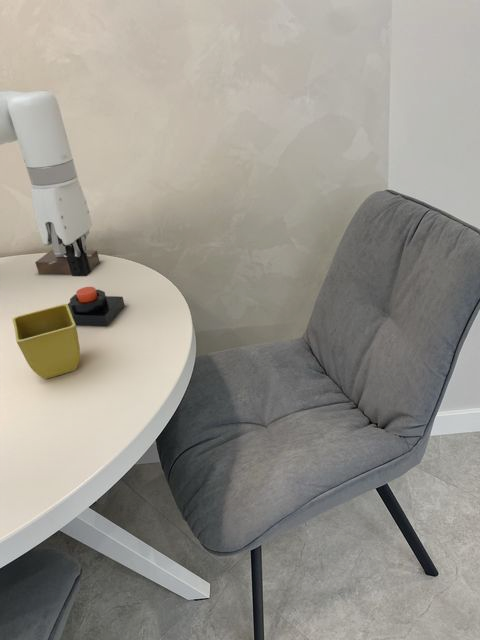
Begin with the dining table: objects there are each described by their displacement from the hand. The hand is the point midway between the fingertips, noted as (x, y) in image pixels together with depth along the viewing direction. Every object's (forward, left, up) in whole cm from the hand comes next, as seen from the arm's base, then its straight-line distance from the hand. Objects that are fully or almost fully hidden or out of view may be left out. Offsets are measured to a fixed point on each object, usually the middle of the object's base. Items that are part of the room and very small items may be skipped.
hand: (81, 274), depth 101 cm
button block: (0, 0, -9) cm, 9 cm away
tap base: (-17, +22, -9) cm, 29 cm away
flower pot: (+3, -18, -9) cm, 20 cm away
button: (0, 0, -5) cm, 5 cm away
